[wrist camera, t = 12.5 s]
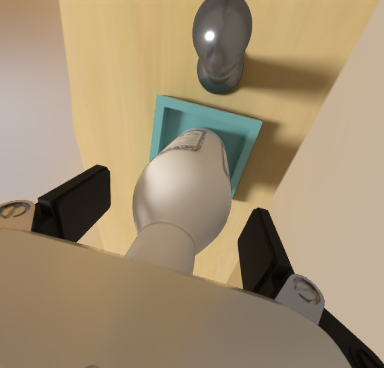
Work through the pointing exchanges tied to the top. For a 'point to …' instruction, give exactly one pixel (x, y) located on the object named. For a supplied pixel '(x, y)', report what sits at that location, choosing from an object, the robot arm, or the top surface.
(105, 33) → the top surface
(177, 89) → the top surface
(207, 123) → the holder tray
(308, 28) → the top surface
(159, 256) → the bath foam
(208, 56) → the post
